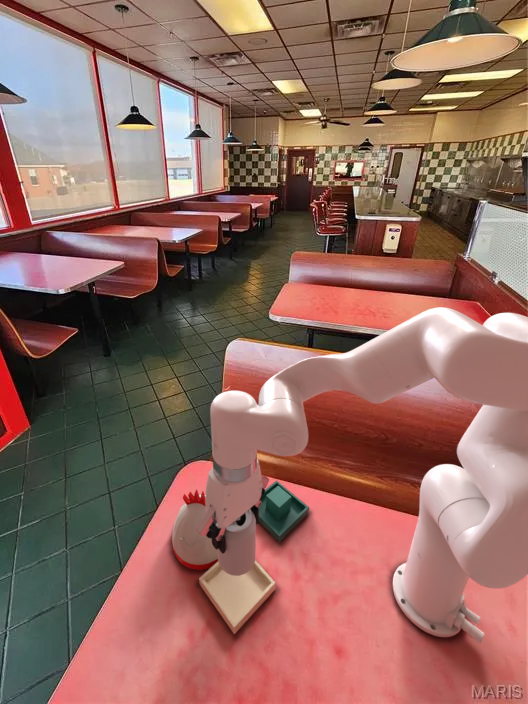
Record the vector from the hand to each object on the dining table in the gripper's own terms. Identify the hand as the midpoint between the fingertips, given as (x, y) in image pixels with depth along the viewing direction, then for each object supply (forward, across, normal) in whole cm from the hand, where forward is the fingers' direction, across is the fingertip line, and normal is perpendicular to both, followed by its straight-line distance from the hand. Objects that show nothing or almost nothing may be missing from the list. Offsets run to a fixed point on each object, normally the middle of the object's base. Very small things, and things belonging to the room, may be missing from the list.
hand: (236, 532), depth 62 cm
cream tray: (+16, 0, 0) cm, 16 cm away
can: (+8, 0, 0) cm, 8 cm away
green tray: (+16, -19, -6) cm, 26 cm away
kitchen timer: (+17, -1, -13) cm, 21 cm away
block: (+16, -19, -6) cm, 26 cm away
